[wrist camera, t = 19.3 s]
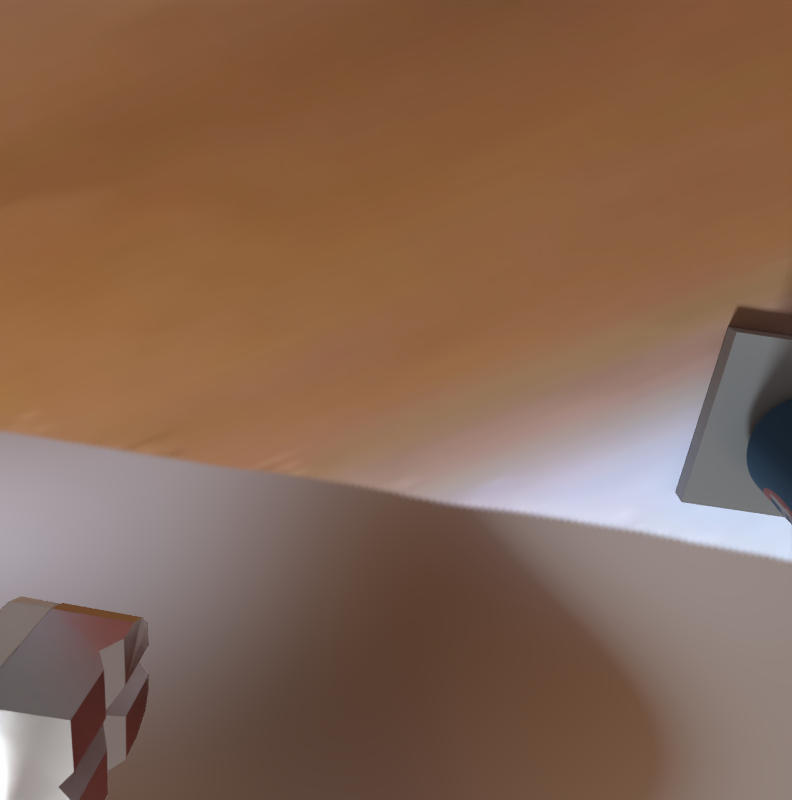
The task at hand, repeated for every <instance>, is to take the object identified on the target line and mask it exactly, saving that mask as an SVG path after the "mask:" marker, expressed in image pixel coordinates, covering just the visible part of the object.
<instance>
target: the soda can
mask: <svg viewBox="0 0 792 800" xmlns="http://www.w3.org/2000/svg"><path fill="white" fill-rule="evenodd" d="M746 458H747V466H748V470H749V473H750V476H751V478H752V480H753V481H754V483H755V484H756V485H757V486H758V488H759V489H760V490H761V491H762V492H763V493H764V494H765V495H766V497H767V498H768V499H769V500H770V501H771V502H772V503H773V504H774V505H775V507H776V508H777V509H778V510H779V511H780V512H781V513H782V514H783V515H784V517H785V518H786V519H787V520H788V521H789V522H790V523H791V524H792V399H789V400H786V401H784V402H782V403H780V404H778V405H776V406H775V407H773V408H772V409H770V410H769V411H768V412H767V413H766V414H765V415H764V416H763V417H762V418H761V419H760V420H759V422H758V423H757V425H756V426H755V428H754V430H753V432H752V434H751V437H750V439H749V443H748V447H747V456H746Z"/></svg>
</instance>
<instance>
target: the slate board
mask: <svg viewBox="0 0 792 800" xmlns="http://www.w3.org/2000/svg"><path fill="white" fill-rule="evenodd" d="M789 399H792V336H790V335H783V334H776V333H769V332H762V331H755V330H748V329H741V328H734V327H728V329H727V332H726V335H725V339H724V342H723V345H722V348H721V351H720V354H719V357H718V361H717V364H716V367H715V370H714V373H713V376H712V379H711V383H710V386H709V389H708V392H707V395H706V398H705V401H704V405H703V408H702V411H701V414H700V417H699V420H698V424H697V427H696V430H695V433H694V436H693V439H692V442H691V446H690V449H689V452H688V455H687V458H686V461H685V464H684V468H683V471H682V474H681V477H680V480H679V483H678V486H677V490H676V494H677V496H678V497H679V499H680V500H681V502H686V503H692V504H699V505H706V506H713V507H719V508H726V509H733V510H740V511H747V512H753V513H760V514H767V515H774V516H781V517H784V515H783V514H782V513H781V512H780V511H779V510H778V509H777V508H776V507H775V505H774V504H773V503H772V502H771V501H770V500H769V499H768V498H767V497H766V495H765V494H764V493H763V492H762V491H761V490H760V489H759V488H758V486H757V485H756V484H755V483H754V481H753V480H752V478H751V476H750V473H749V470H748V466H747V458H746V456H747V447H748V443H749V439H750V437H751V434H752V432H753V430H754V428H755V426H756V425H757V423H758V422H759V420H760V419H761V418H762V417H763V416H764V415H765V414H766V413H767V412H768V411H769V410H770V409H772V408H773V407H775V406H776V405H778V404H780V403H782V402H784V401H786V400H789Z"/></svg>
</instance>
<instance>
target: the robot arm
mask: <svg viewBox="0 0 792 800" xmlns="http://www.w3.org/2000/svg"><path fill="white" fill-rule="evenodd" d="M148 640H149V639H148V622H147V621H145V620H144V619H143V618H142V617H137V616H132V615H126V614H120V613H115V612H109V611H104V610H98V609H92V608H87V607H81V606H76V605H70V604H64V603H62V604H58V603H53V602H48V601H43V600H37V599H32V598H26V597H19V598H16V599H14V600H12V601H9V602H8V603H7V604H6V605H5V606H4V607H3V608H2V609H1V610H0V800H105V798H106V796H107V794H108V773H107V772H108V770H110V769H111V768H113V767H114V766H116V765H117V764H119V763H120V762H122V761H123V760H125V759H126V758H127V756H128V754H129V752H130V750H131V748H132V745H133V744H134V741H135V740H136V737H137V735H138V732H139V729H140V726H141V723H142V720H143V717H144V713H145V710H146V704H147V697H148V691H149V690H148V689H149V674H148V673H147V672H146V670H145V669H144V668H143V666H142V665H141V664H140V662H139V661H140V659H141V657H142V656H143V654H144V652H145V651H146V649H147V647H148V645H149V641H148Z"/></svg>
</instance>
